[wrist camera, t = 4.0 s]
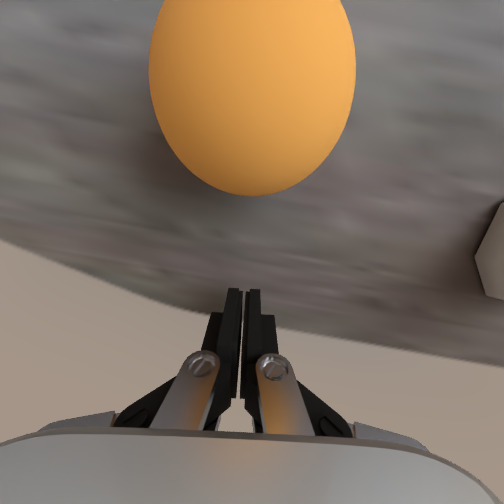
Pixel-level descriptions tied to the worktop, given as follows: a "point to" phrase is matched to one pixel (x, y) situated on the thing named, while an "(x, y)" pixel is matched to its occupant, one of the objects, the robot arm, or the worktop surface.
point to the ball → (252, 88)
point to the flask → (493, 257)
